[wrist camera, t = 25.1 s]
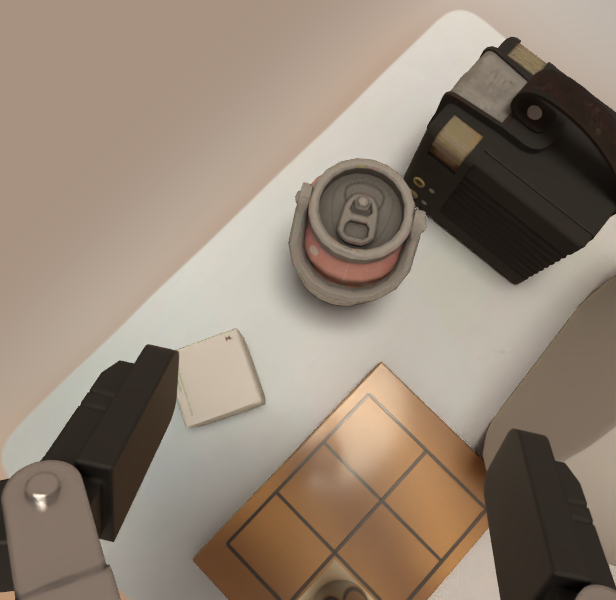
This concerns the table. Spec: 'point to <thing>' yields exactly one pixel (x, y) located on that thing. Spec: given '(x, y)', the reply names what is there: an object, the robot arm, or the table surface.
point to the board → (357, 506)
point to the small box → (217, 379)
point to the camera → (518, 162)
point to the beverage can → (355, 232)
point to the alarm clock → (574, 407)
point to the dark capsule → (341, 591)
